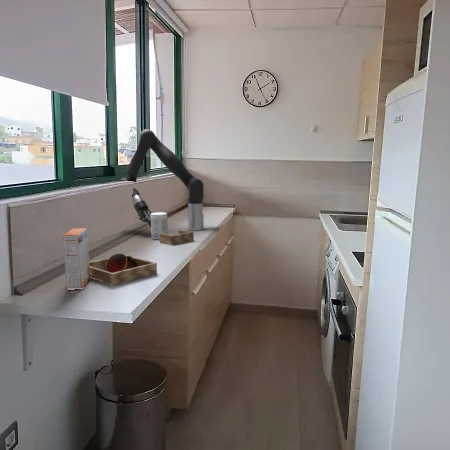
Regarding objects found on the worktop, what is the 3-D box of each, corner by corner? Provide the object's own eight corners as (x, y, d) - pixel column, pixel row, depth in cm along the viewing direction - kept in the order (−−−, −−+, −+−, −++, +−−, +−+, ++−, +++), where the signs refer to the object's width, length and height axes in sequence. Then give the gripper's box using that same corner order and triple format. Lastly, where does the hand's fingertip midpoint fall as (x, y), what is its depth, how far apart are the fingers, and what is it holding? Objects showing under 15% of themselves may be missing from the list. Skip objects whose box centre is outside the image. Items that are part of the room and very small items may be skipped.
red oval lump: (122, 289, 187) (96, 277, 176) (127, 262, 192) (102, 249, 181) (143, 286, 180) (118, 273, 169) (148, 258, 186) (124, 244, 175)
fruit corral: (124, 264, 195) (124, 254, 195) (156, 273, 181) (156, 263, 181) (80, 274, 179) (80, 264, 178) (112, 285, 165) (111, 274, 164)
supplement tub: (166, 236, 261) (165, 211, 258) (169, 239, 252) (169, 214, 249) (149, 237, 257) (149, 212, 255) (152, 240, 249) (152, 214, 246)
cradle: (180, 238, 255) (180, 229, 254) (193, 240, 248) (193, 232, 247) (159, 242, 243) (159, 233, 242) (172, 245, 236) (172, 236, 235)
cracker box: (75, 279, 172) (72, 227, 169) (90, 279, 173) (88, 227, 169) (65, 291, 158) (61, 234, 155) (82, 290, 159) (79, 234, 155)
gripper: (132, 201, 256) (146, 223, 250) (150, 199, 266) (164, 221, 260) (127, 209, 260) (141, 231, 255) (145, 207, 270) (158, 228, 264)
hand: (152, 226), depth 257 cm, fingers closed
